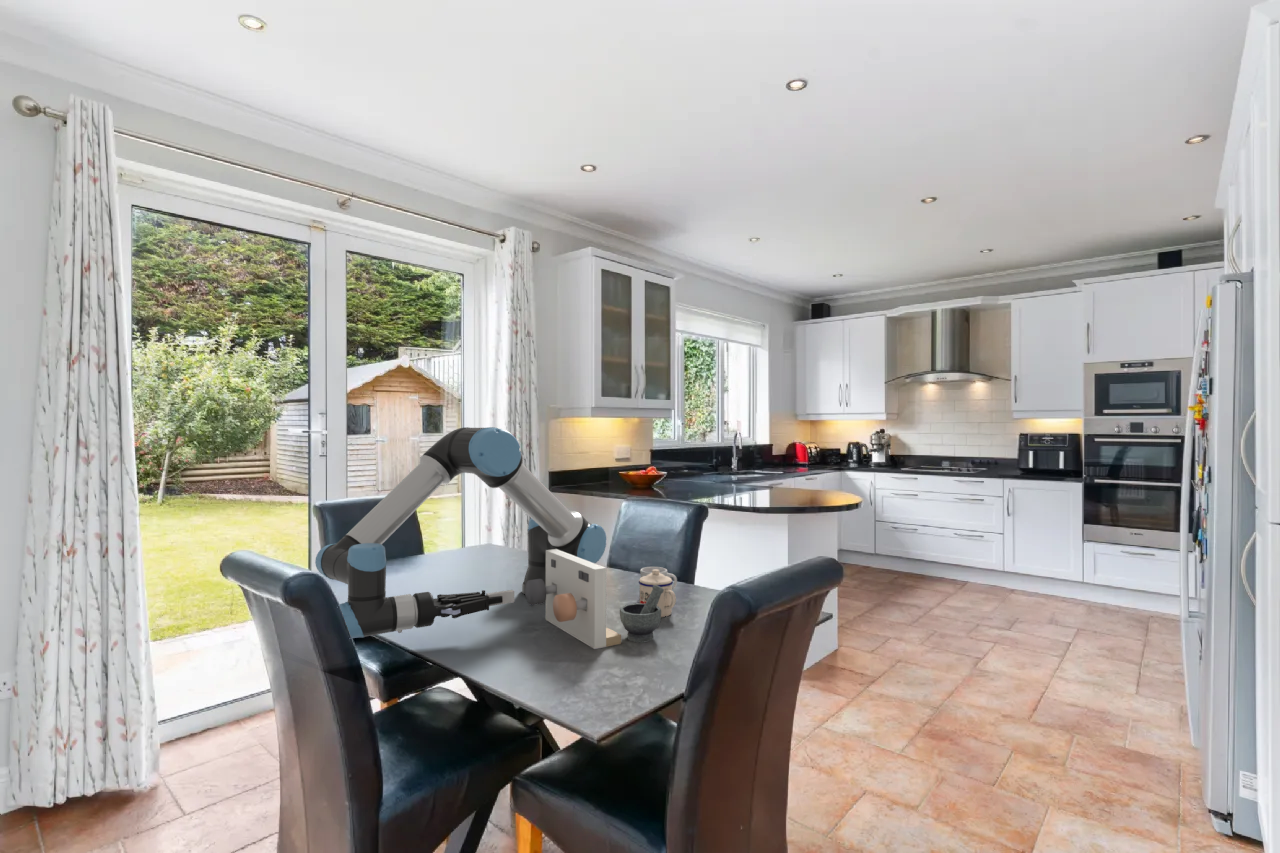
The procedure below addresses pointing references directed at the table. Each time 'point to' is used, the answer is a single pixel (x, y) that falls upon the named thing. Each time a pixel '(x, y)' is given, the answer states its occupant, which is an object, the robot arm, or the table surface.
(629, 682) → the table surface
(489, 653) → the table surface
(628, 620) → the mortar and pestle
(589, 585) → the button panel
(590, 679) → the table surface
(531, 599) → the charcoal button
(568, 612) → the terracotta button
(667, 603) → the teacup with lid
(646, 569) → the cup
